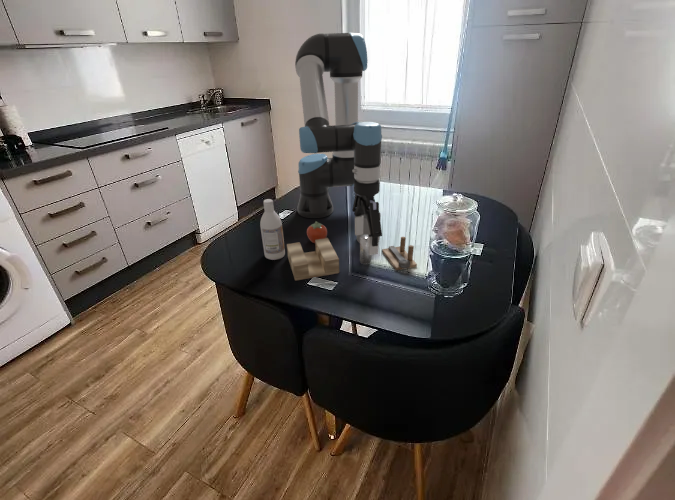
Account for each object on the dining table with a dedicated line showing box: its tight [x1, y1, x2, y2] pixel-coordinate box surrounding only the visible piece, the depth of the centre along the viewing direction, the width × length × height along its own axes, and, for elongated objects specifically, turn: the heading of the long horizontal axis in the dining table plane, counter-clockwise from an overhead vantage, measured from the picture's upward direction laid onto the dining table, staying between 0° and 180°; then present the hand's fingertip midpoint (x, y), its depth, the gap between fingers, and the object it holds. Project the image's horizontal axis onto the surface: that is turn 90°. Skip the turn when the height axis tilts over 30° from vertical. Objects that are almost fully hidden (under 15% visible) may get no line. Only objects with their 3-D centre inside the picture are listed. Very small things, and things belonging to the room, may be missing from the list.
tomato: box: [306, 220, 328, 244], centre depth 129 cm, size 7×7×8 cm
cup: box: [356, 211, 382, 244], centre depth 129 cm, size 8×8×10 cm
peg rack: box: [381, 236, 418, 271], centre depth 117 cm, size 13×7×6 cm, turn 15°
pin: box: [359, 235, 372, 265], centre depth 116 cm, size 4×4×9 cm
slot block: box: [286, 237, 340, 281], centre depth 116 cm, size 14×14×5 cm
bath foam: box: [259, 198, 286, 261], centre depth 118 cm, size 7×7×20 cm
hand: (365, 243), depth 115 cm, fingers open, 13 cm apart
